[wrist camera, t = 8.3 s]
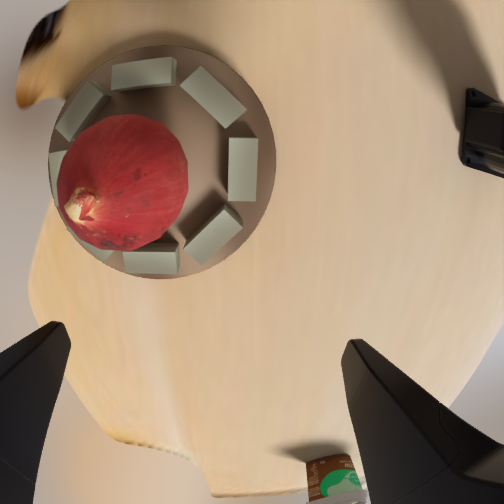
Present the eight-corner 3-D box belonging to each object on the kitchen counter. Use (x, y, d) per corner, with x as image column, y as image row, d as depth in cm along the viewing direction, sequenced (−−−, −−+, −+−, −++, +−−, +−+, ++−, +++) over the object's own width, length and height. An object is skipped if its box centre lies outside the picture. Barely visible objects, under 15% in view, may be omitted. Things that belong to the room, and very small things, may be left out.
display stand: (276, 52, 14) (285, 37, 11) (265, 265, 20) (270, 291, 17) (63, 73, 13) (35, 69, 10) (79, 262, 19) (60, 284, 16)
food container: (370, 453, 38) (383, 497, 29) (344, 467, 40) (354, 509, 31) (327, 448, 34) (340, 502, 25) (299, 462, 36) (307, 513, 27)
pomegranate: (199, 216, 16) (170, 304, 9) (106, 215, 15) (32, 290, 8) (200, 111, 13) (160, 108, 6) (100, 118, 13) (1, 136, 6)
